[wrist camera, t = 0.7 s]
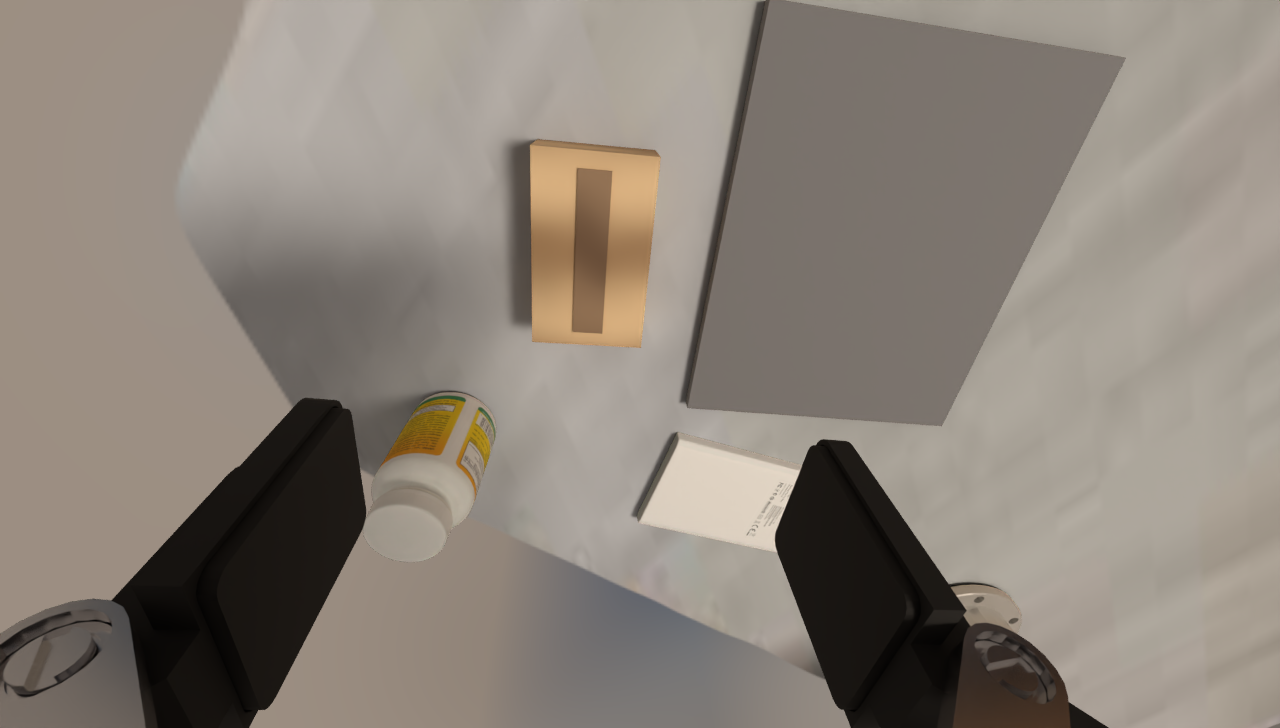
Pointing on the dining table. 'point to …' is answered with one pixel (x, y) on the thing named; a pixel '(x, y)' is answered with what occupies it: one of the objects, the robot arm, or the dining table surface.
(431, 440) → the supplement bottle
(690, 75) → the dining table surface
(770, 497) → the external hard drive
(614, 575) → the dining table surface
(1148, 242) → the dining table surface
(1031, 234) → the rubber mat
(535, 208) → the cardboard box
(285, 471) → the robot arm
